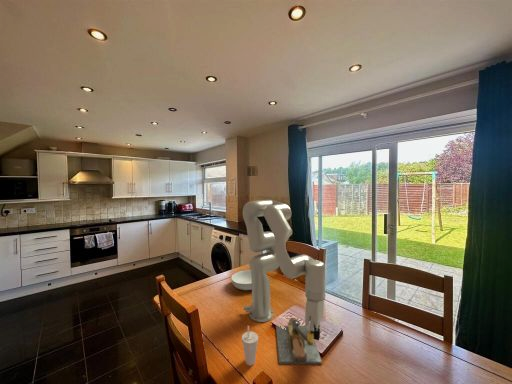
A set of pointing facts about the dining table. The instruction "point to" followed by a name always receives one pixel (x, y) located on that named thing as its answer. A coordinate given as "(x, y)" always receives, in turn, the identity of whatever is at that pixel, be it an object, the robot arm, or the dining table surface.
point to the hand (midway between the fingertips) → (315, 337)
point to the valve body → (295, 346)
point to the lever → (303, 332)
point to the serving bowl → (242, 280)
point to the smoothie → (250, 346)
